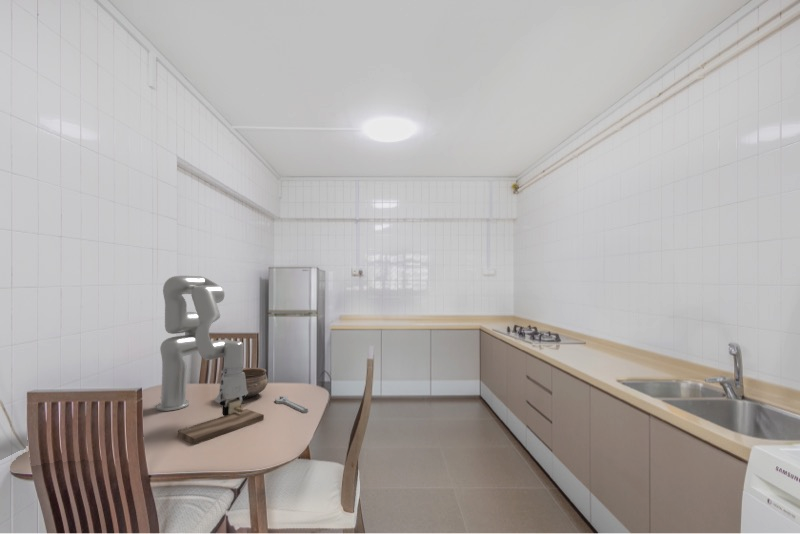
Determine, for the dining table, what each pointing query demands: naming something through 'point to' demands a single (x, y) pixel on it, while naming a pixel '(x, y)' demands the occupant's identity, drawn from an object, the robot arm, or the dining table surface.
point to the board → (219, 426)
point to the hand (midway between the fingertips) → (231, 413)
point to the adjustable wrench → (291, 404)
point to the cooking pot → (255, 381)
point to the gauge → (234, 406)
